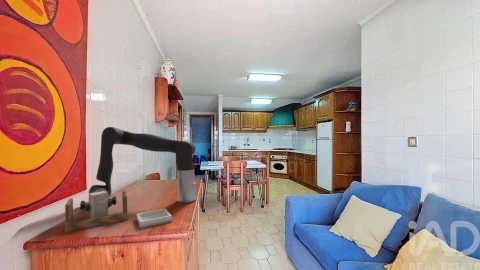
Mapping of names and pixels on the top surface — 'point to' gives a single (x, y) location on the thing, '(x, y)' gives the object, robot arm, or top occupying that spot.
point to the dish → (153, 218)
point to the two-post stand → (94, 221)
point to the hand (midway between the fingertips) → (98, 206)
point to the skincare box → (98, 204)
